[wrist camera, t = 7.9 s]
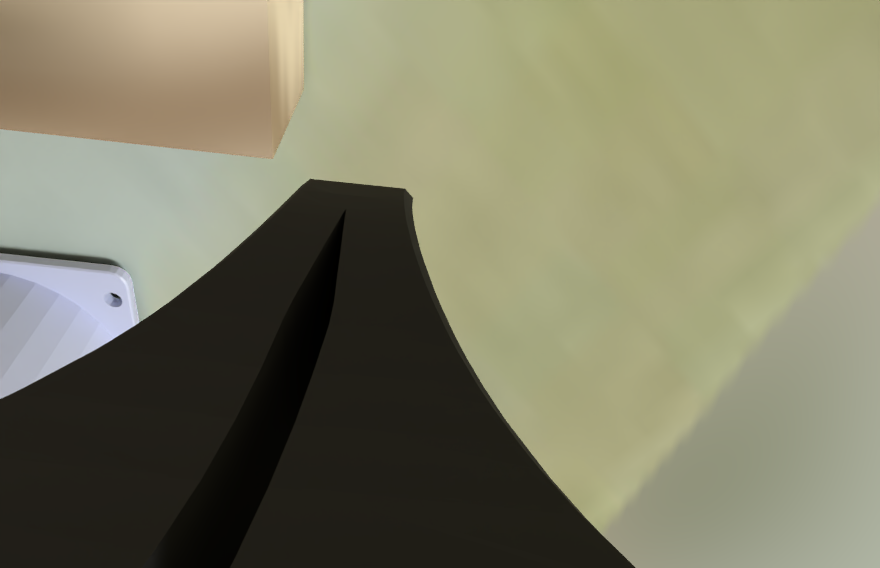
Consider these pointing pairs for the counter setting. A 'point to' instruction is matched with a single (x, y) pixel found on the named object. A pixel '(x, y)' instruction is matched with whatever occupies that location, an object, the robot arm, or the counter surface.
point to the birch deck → (154, 71)
